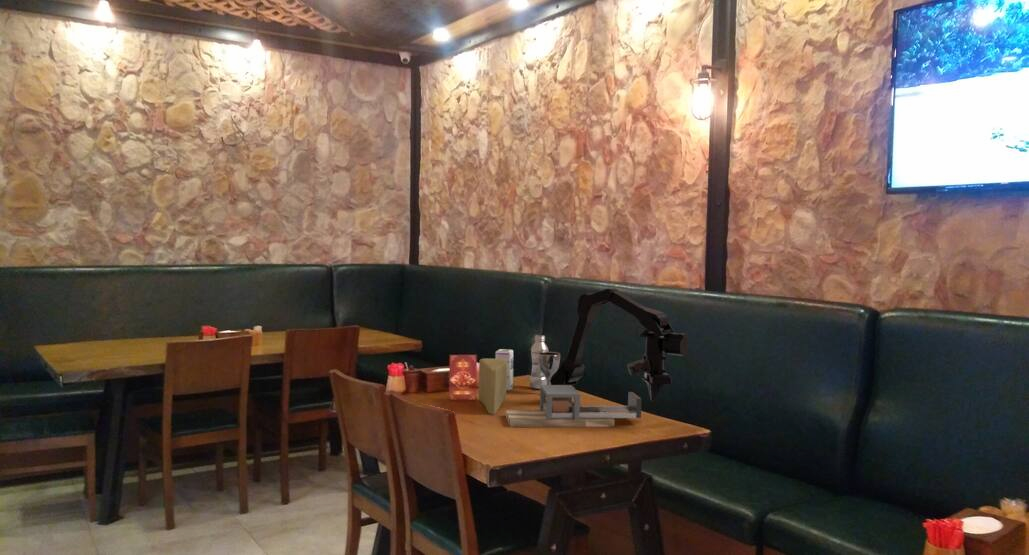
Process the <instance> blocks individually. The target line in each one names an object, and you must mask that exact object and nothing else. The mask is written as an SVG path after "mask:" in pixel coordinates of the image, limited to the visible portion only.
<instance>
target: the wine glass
mask: <svg viewBox="0 0 1029 555" xmlns="http://www.w3.org/2000/svg"><path fill="white" fill-rule="evenodd" d="M560 361H561V353H560V352H558V351H557V352H555V351H548V352H539V353H538V363H539V368H540V370H541V371H542V372H543V374H544V375H545V376H546V379H547V385H551V382H550V380H551V379H552V378H553V377H552V376H553V375H554V374H555V373H557V371H558V369H559V367H560V364H561V363H560ZM538 396H540V392H539V393H538Z"/></svg>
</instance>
